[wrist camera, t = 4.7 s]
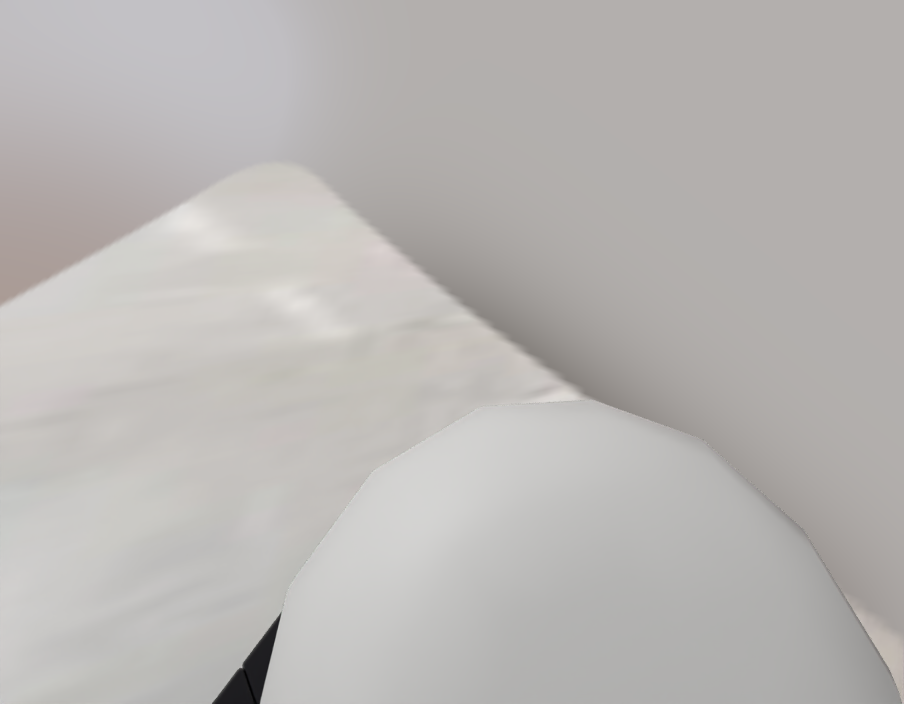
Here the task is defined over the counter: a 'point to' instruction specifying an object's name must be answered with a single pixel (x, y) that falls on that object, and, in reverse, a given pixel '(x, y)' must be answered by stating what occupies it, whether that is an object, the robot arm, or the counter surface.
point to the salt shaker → (567, 578)
